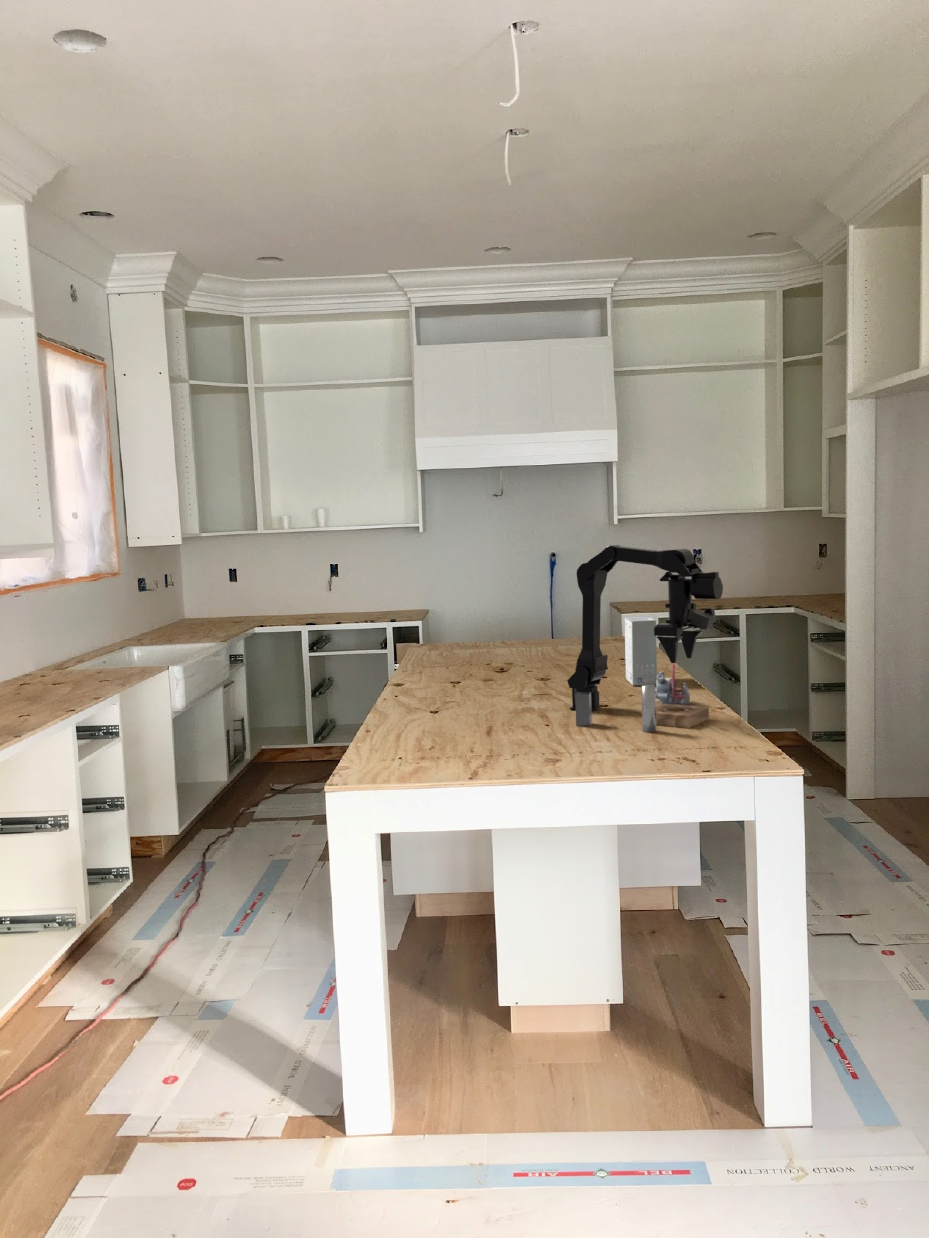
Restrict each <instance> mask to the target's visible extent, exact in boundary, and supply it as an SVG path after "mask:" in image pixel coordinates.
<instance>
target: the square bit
mask: <svg viewBox="0 0 929 1238" xmlns="http://www.w3.org/2000/svg"><path fill="white" fill-rule="evenodd" d="M575 703H576V710H575V726H576V727H591V725H592V724H593V717H592V715H593V710H592V707H591V692H577V693H576V694H575ZM591 723H592V724H591Z"/></svg>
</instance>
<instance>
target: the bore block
mask: <svg viewBox="0 0 929 1238" xmlns="http://www.w3.org/2000/svg"><path fill="white" fill-rule="evenodd" d="M709 710H710V707H709V706H707V707H706V706H697V705H674V704H661V705H658V706H656V726H661V727H671V726H673V727H672V728H681V727H682V728H681V729H684V728H685V729H691V728H693V727H695V726H697V725H699V724H701V723H700V722H702V723H704V722H706V721H708V720H710V711H709ZM707 719H708V720H707ZM705 720H706V721H705ZM692 726H693V727H692Z"/></svg>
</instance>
